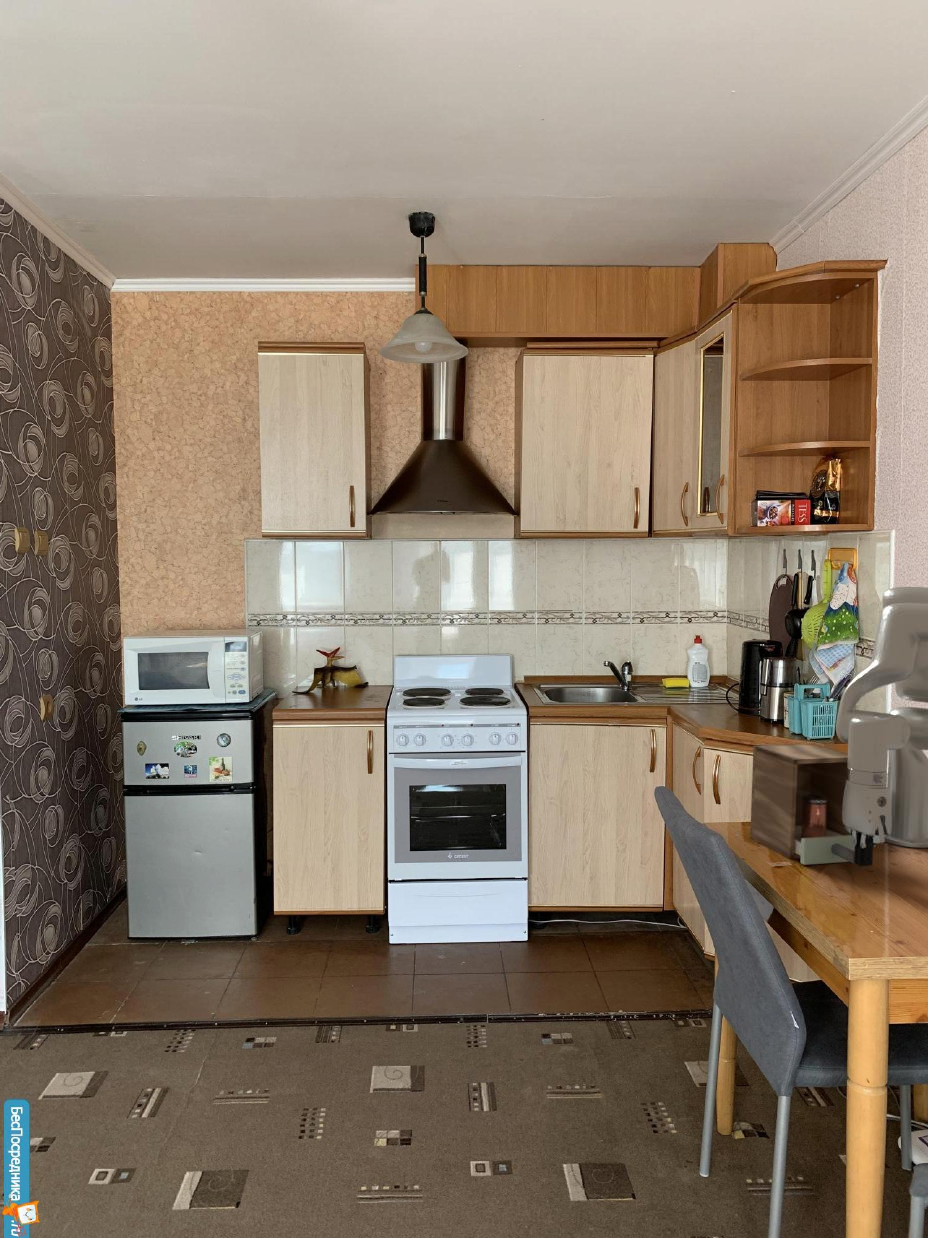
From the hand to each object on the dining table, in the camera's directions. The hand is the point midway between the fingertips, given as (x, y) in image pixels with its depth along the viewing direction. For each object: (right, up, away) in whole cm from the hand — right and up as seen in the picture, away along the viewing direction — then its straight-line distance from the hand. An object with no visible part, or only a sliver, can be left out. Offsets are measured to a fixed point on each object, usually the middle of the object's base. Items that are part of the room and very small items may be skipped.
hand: (863, 864), depth 191 cm
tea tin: (-4, +1, +16) cm, 17 cm away
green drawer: (-3, -2, +13) cm, 14 cm away
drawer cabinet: (-5, -1, +21) cm, 22 cm away
